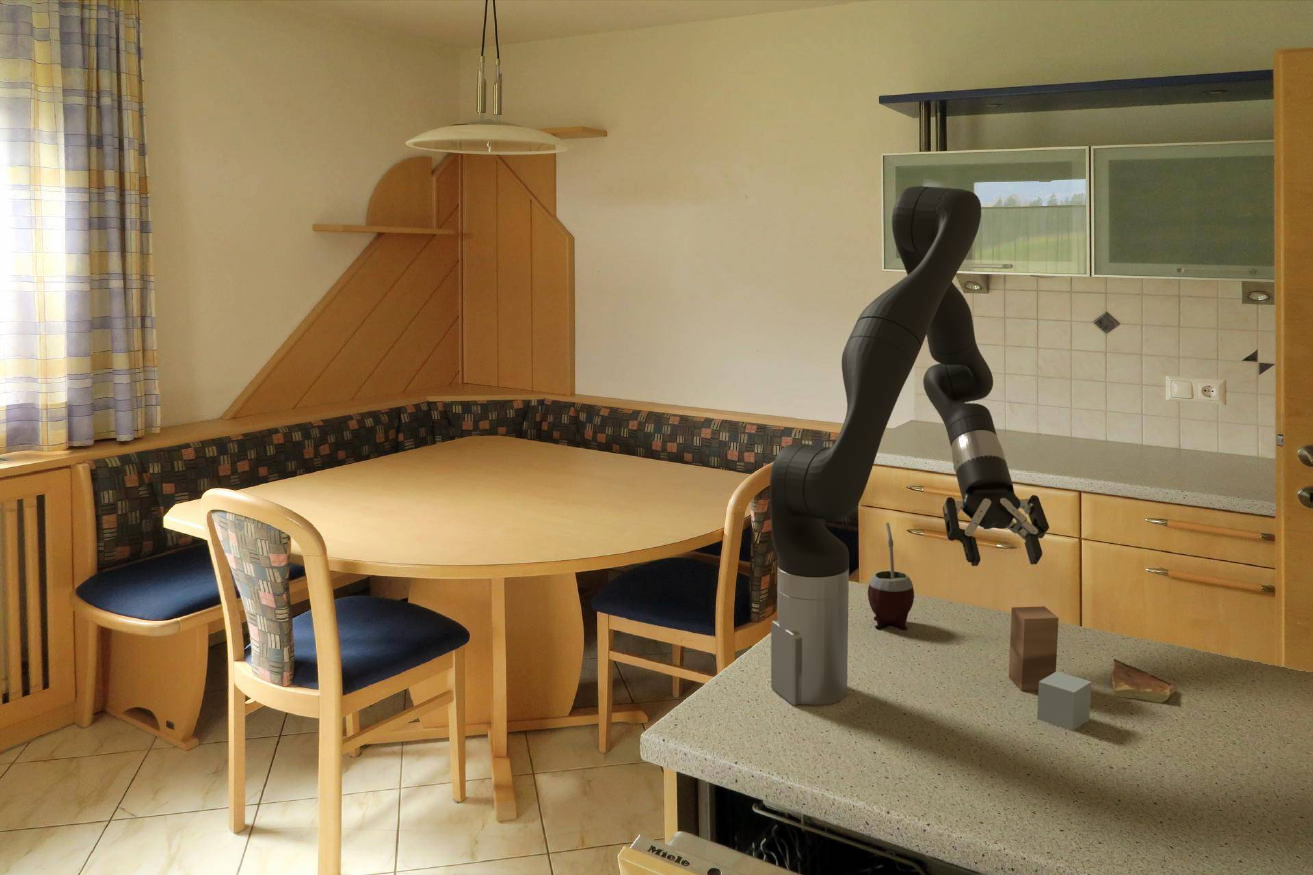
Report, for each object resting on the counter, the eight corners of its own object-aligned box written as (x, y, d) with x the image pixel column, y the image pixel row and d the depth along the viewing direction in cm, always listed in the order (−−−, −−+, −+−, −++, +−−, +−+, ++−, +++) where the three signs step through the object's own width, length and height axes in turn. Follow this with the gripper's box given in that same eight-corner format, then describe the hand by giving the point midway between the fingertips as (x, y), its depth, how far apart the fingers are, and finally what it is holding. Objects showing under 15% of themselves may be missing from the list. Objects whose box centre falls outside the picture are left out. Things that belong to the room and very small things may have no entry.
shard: (1112, 668, 143) (1113, 656, 143) (1173, 676, 140) (1174, 664, 140) (1111, 699, 134) (1111, 686, 133) (1176, 708, 131) (1177, 695, 130)
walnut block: (1054, 689, 136) (1058, 617, 134) (1021, 690, 136) (1024, 618, 134) (1041, 676, 140) (1044, 606, 138) (1008, 677, 140) (1011, 607, 138)
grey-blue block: (1072, 731, 124) (1074, 692, 123) (1037, 719, 127) (1038, 681, 127) (1089, 719, 127) (1091, 681, 126) (1054, 708, 130) (1056, 671, 130)
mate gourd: (892, 636, 156) (894, 540, 153) (853, 622, 162) (855, 530, 159) (924, 625, 160) (927, 532, 157) (885, 611, 166) (887, 522, 164)
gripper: (940, 454, 152) (963, 551, 142) (1035, 452, 152) (1064, 548, 143) (928, 482, 158) (950, 576, 148) (1019, 479, 158) (1047, 573, 149)
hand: (1006, 562), depth 146 cm, fingers open, 8 cm apart
